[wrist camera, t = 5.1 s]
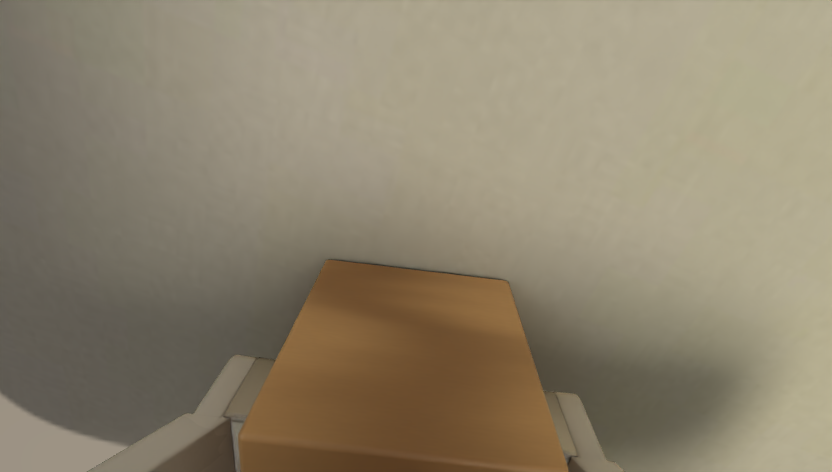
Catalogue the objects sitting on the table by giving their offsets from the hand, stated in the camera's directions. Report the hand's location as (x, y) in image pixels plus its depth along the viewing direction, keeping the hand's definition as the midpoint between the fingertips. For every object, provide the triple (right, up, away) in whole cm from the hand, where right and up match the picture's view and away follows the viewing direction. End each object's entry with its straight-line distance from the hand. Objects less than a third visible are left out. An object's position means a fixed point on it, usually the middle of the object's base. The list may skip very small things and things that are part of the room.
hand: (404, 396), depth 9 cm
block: (0, +1, +2) cm, 2 cm away
